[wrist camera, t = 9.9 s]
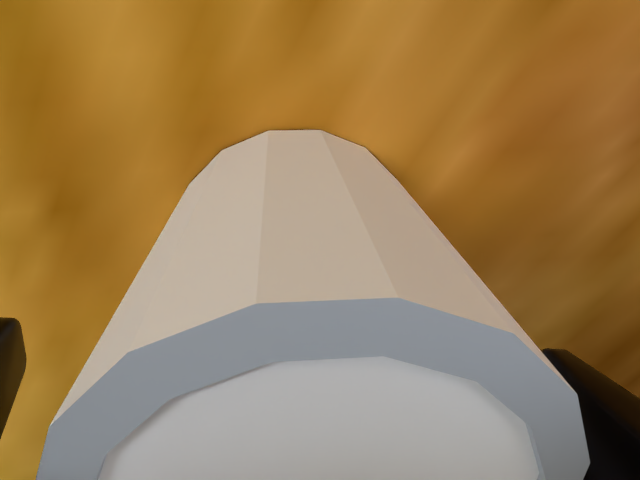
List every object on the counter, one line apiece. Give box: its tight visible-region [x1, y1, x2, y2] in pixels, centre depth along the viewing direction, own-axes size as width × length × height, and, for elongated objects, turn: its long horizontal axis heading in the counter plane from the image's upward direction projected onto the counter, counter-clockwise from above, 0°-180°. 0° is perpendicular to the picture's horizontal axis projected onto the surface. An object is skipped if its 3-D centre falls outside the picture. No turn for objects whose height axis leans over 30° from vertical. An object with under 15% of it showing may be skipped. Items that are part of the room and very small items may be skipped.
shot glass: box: [36, 130, 590, 480], centre depth 9 cm, size 7×7×7 cm
